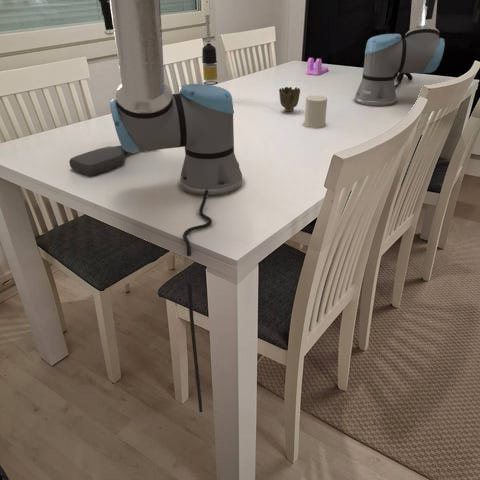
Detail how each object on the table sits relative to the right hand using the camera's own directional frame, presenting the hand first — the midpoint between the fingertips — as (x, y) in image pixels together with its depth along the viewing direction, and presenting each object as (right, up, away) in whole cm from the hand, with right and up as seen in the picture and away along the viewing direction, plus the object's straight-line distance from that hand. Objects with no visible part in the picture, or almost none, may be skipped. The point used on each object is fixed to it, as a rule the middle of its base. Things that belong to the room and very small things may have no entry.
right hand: (450, 20), depth 130 cm
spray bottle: (-96, -41, -5) cm, 104 cm away
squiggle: (+11, +8, +71) cm, 72 cm away
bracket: (-23, +18, +88) cm, 93 cm away
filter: (-73, -7, +49) cm, 88 cm away
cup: (-44, -18, +32) cm, 57 cm away
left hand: (-91, -9, -12) cm, 92 cm away
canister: (-36, -25, +19) cm, 48 cm away
